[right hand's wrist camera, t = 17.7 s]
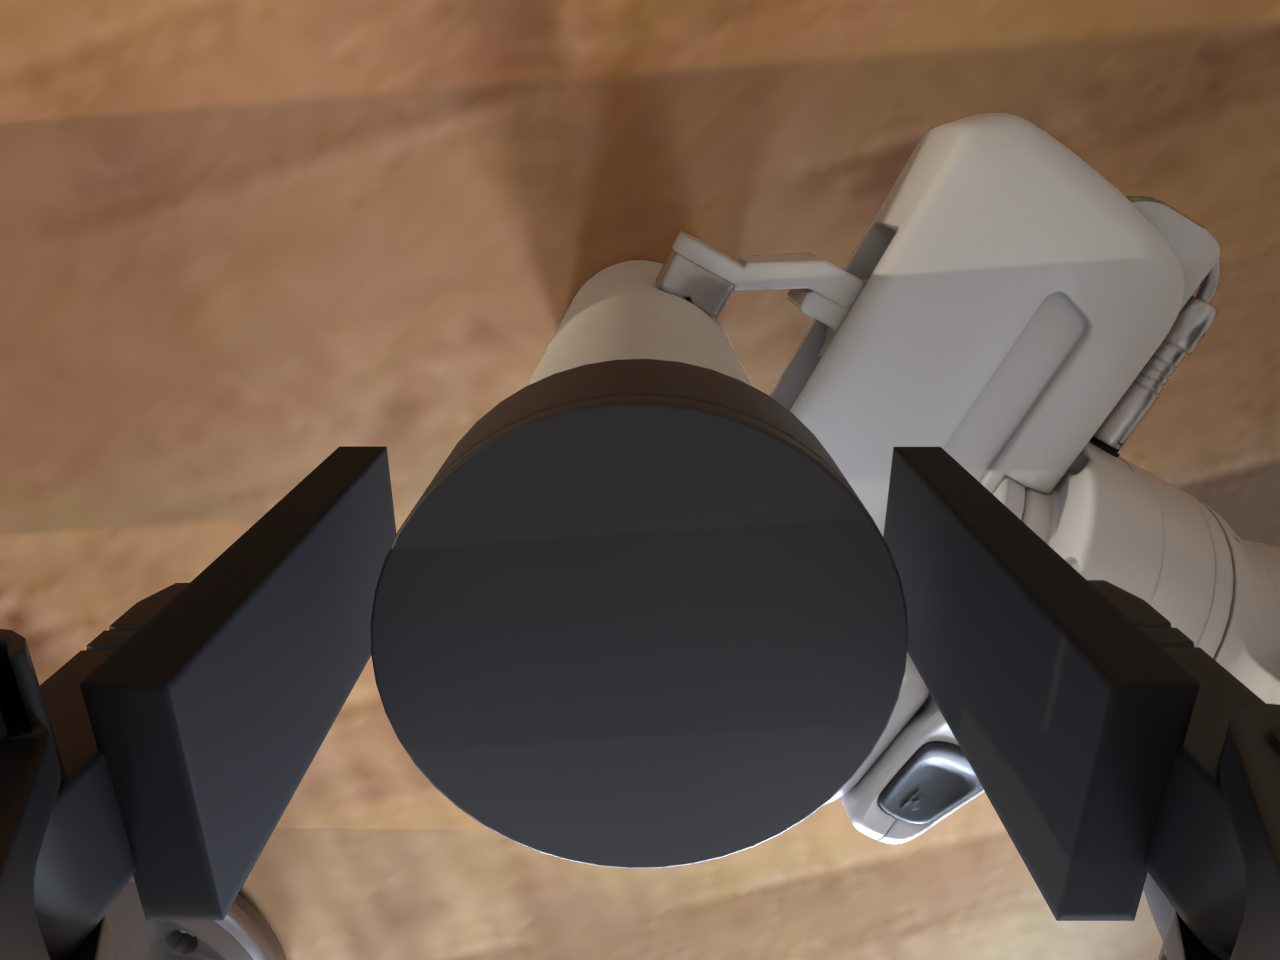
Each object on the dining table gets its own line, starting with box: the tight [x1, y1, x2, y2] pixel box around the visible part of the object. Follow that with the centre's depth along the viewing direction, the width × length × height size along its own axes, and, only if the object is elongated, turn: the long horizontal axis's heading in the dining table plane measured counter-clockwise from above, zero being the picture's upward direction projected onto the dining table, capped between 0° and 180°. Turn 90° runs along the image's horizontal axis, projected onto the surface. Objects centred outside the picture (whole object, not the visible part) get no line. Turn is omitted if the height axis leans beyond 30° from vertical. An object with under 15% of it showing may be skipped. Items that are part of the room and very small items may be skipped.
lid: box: [371, 359, 908, 868], centre depth 11 cm, size 6×6×2 cm
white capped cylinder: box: [529, 260, 751, 386], centre depth 20 cm, size 5×5×20 cm
